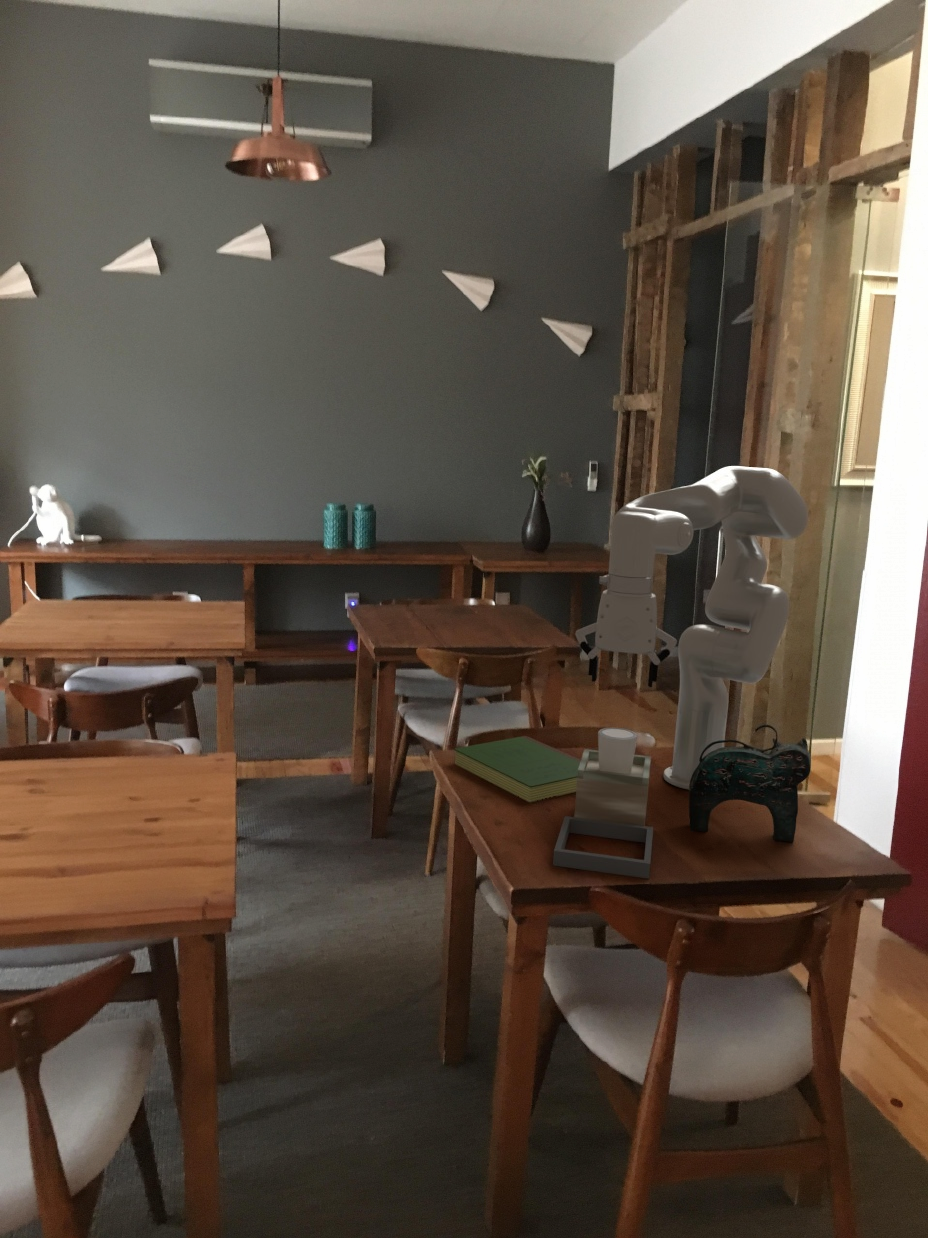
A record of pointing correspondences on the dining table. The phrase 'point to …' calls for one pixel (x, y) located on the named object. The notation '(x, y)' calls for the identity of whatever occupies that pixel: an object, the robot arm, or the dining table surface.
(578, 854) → the dark grey square frame
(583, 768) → the stand
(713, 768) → the ceramic cat
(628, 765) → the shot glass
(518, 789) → the hardcover book
